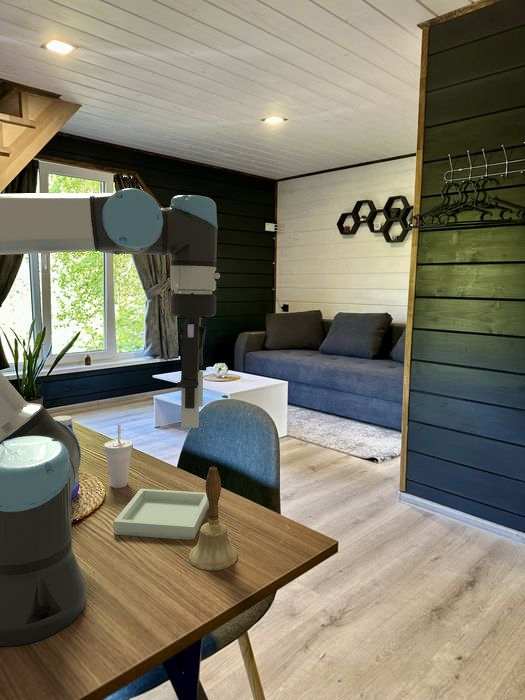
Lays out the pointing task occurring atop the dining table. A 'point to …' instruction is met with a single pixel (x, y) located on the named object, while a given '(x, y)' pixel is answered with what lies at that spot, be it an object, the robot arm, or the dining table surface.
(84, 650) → the dining table surface
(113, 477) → the smoothie
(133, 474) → the dining table surface
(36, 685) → the dining table surface
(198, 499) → the tray
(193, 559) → the hand bell
